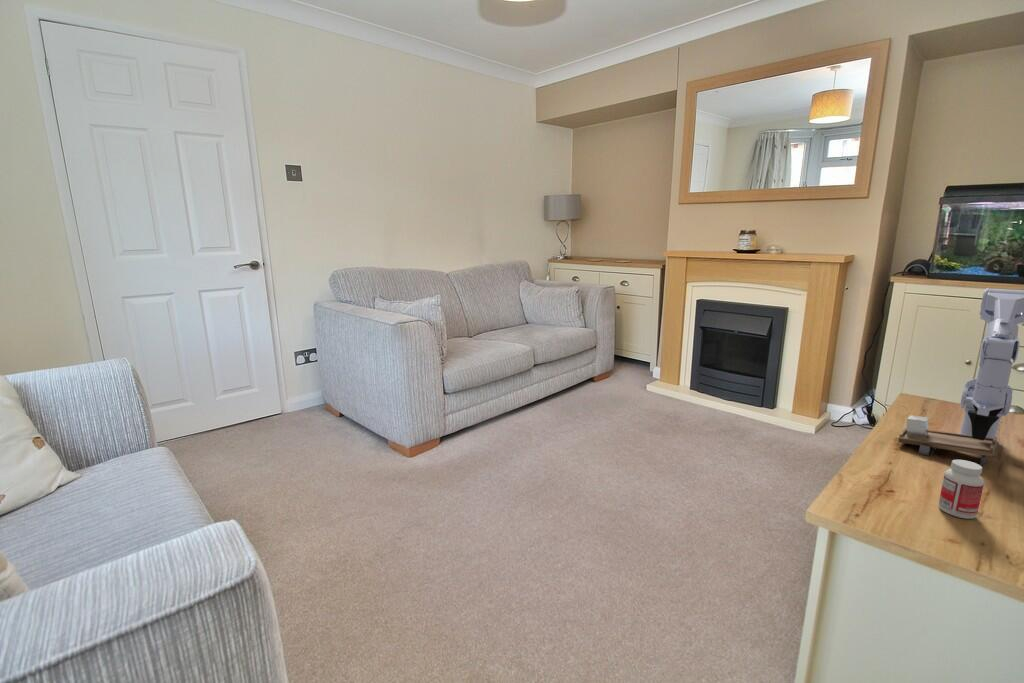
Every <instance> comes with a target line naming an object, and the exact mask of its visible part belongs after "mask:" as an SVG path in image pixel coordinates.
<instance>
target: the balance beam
mask: <svg viewBox="0 0 1024 683" xmlns="http://www.w3.org/2000/svg"><path fill="white" fill-rule="evenodd" d="M997 440H998V437H997V436H996V437H994V438H987V437H986V438H985V439H984V440H983V441H982V440H978V439H974V438H972V436H971V435H964V434H959V433H957V432H956V433H953V432H948V431H941V430H932V429H928V436H927V437H926V439H924V438H917V437H910V436H907V426H905V427H904V428H903V430H902V431H901V432H900V433H899V436H898V443H901V444H902V443H906V444H909V445H913V446H915V445H916V446H920V444H924V445H928V446H931V447H933V448H936V449H940V450H946V451H952V452H960V453H967V454H974V455H980V456H982V455H986V457H993V456H994V453H995V451H996V448H997V446H998V442H997Z"/></svg>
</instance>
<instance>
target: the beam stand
mask: <svg viewBox="0 0 1024 683" xmlns="http://www.w3.org/2000/svg"><path fill="white" fill-rule="evenodd" d="M906 444H907V443H901V445H902V446H906ZM936 450H937V448H933V447H931V446H928V445H924V444H920V445H919V448H918V449H917V451H916V452H915V454H917V455H920V456H924V457H927V458H931V457H932V456H933V454H934V453H935V451H936ZM986 459H987V456H986V455H981V458H980V462H979V465H980V466H981V467H984V465H985V462H986Z"/></svg>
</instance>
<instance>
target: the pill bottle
mask: <svg viewBox="0 0 1024 683" xmlns="http://www.w3.org/2000/svg"><path fill="white" fill-rule="evenodd" d="M982 472H983V466H980V464H978V463H977V462H972V461H970V460H966V459H965V460H964V459H953V460H951V464H950V468H948V469H946V470H945V472H944V475H943V480H942V486H941V490H940V495H939V500H938V508H939V509H940V510H941V511H943V512H945V513H947V514H948V515H951V516H953V517H957V518H960V519H965V520H966V519H969V520H971V519H975V518H976V517H977V516H978V513H979V508H980V504H981V500H982V494H983V490H984V486H985V481H984V478H983V477H982V476H981V474H982Z"/></svg>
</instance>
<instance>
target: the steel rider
mask: <svg viewBox="0 0 1024 683" xmlns="http://www.w3.org/2000/svg"><path fill="white" fill-rule="evenodd" d="M906 427H907V436H910V437H917V438H924V439H926V437H927V436H928V430H929V417H928V416H921V415H920V416H919V415H909V416H908V417H907V418H906Z"/></svg>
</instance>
